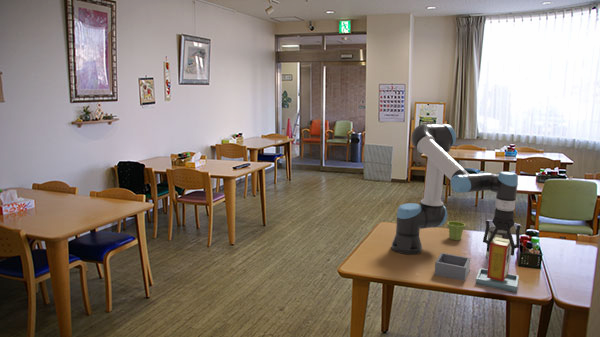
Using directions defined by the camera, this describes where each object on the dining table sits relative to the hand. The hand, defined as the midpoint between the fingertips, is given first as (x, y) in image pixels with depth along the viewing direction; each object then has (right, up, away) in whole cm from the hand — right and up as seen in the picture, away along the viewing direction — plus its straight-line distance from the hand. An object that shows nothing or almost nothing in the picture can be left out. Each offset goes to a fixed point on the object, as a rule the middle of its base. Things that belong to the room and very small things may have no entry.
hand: (499, 260), depth 196 cm
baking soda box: (0, -7, +1) cm, 7 cm away
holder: (-16, -8, +11) cm, 22 cm away
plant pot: (+1, 0, +58) cm, 58 cm away
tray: (0, -10, +2) cm, 10 cm away
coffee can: (+13, -5, +32) cm, 35 cm away
